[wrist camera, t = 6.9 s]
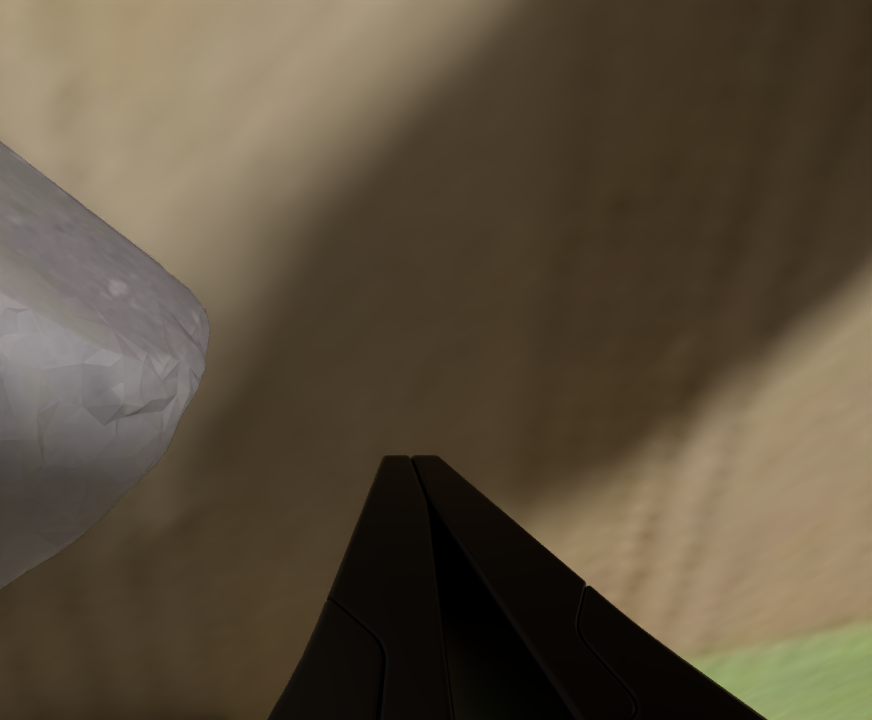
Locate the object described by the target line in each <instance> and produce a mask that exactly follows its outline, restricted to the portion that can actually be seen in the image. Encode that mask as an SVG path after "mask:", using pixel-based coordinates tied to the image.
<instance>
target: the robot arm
mask: <svg viewBox="0 0 872 720" xmlns="http://www.w3.org/2000/svg"><path fill="white" fill-rule="evenodd" d="M267 720H767V719H766V718H764V717H763V716H762V715H760V714H759V713H757V712H756V711H755V710H753V709H752V708H750V707H749V706H748V705H746V704H745V703H744V702H742V701H741V700H739V699H738V698H737V697H735V696H734V695H732V694H731V693H730V692H728V691H727V690H725V689H724V688H723V687H721V686H720V685H719V684H717V683H716V682H714V681H713V680H712V679H710V678H709V677H707V676H706V675H705V674H703V673H702V672H700V671H699V670H698V669H696V668H695V667H694V666H692V665H691V664H689V663H688V662H687V661H685V660H684V659H682V658H681V657H680V656H678V655H677V654H676V653H674V652H673V651H672V650H670V649H669V648H668V647H666V646H665V645H664V644H662V643H661V642H660V641H658V640H657V639H656V638H654V637H653V636H652V635H650V634H649V633H648V632H646V631H645V630H644V629H642V628H641V627H640V626H638V625H637V624H636V623H635V622H634V621H632V620H631V619H630V618H629V617H627V616H626V615H625V614H624V613H622V612H621V611H620V610H619V609H618V608H616V607H615V606H614V605H613V604H611V603H610V602H609V601H608V600H607V599H605V598H604V597H603V596H602V595H601V594H600V593H598V592H597V591H596V590H595V589H594V588H593V587H591V586H586V582H585V581H584V580H583V579H582V578H581V577H579V576H578V575H577V574H576V573H575V572H574V571H572V570H571V569H570V568H569V567H568V566H567V565H565V564H564V563H563V562H562V561H561V560H559V559H558V558H557V557H556V556H555V555H554V554H552V553H551V552H550V551H549V550H548V549H547V548H545V547H544V546H543V545H542V544H541V543H540V542H538V541H537V540H536V539H535V538H534V537H533V536H531V535H530V534H529V533H528V532H527V531H525V530H524V529H523V528H522V527H521V526H520V525H518V524H517V523H516V522H515V521H514V520H513V519H511V518H510V517H509V516H508V515H507V514H506V513H504V512H503V511H502V510H501V509H500V508H499V507H497V506H496V505H495V504H494V503H493V502H492V501H490V500H489V499H488V498H487V497H486V496H484V495H483V494H482V493H481V492H480V491H479V490H477V489H476V488H475V487H474V486H473V485H472V484H470V483H469V482H468V481H467V480H466V479H465V478H463V477H462V476H461V475H460V474H459V473H458V472H456V471H455V470H454V469H453V468H452V467H450V466H449V465H448V464H447V463H446V462H445V461H443V460H442V459H441V458H440V457H438V456H436V455H414V456H412V457H411V458H410V457H409V456H407V455H386V456H384V457H383V458H382V460H381V463H380V465H379V468H378V470H377V473H376V475H375V478H374V481H373V483H372V486H371V488H370V491H369V493H368V496H367V498H366V501H365V503H364V506H363V509H362V511H361V514H360V516H359V519H358V521H357V524H356V526H355V529H354V531H353V534H352V536H351V539H350V542H349V544H348V547H347V549H346V552H345V554H344V557H343V559H342V562H341V564H340V567H339V570H338V572H337V575H336V577H335V580H334V582H333V585H332V587H331V590H330V592H329V595H328V598H327V601H326V602H325V604H324V607H323V609H322V612H321V614H320V617H319V619H318V622H317V624H316V626H315V629H314V631H313V633H312V635H311V638H310V640H309V642H308V644H307V647H306V649H305V651H304V653H303V656H302V658H301V659H300V661H299V663H298V665H297V667H296V669H295V671H294V673H293V674H292V676H291V678H290V680H289V682H288V684H287V686H286V688H285V689H284V691H283V693H282V695H281V696H280V698H279V700H278V702H277V703H276V705H275V707H274V708H273V710H272V712H271V714H270V715H269V717H268V719H267Z"/></svg>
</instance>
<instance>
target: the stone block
mask: <svg viewBox="0 0 872 720" xmlns="http://www.w3.org/2000/svg"><path fill="white" fill-rule="evenodd" d="M209 333H210V327H209V322H208V318H207V314H206V310H205V309H204V308H203V306H202V305H201V304H200V302H199V301H198V300H197V298H196V297H195V296H194V294H193V293H192V292H191V291H190V290H189V289H188V288H187V287H186V286H185V285H184V284H182V283H181V282H180V281H179V280H178V279H177V278H175V277H174V276H173V275H172V274H170V273H169V272H168V271H167V270H166V269H164V268H163V267H162V266H161V265H160V264H159V263H158V262H156V261H155V260H154V259H153V258H152V257H150V256H149V255H148V254H147V253H145V252H144V251H143V250H141V249H140V248H139V247H137V246H136V245H135V244H133V243H132V242H131V241H130V240H128V239H127V238H126V237H124V236H123V235H122V234H120V233H119V232H118V231H116V230H115V229H114V228H113V227H111V226H110V225H109V224H107V223H106V222H105V221H103V220H102V219H101V218H100V217H98V216H97V215H96V214H94V213H93V212H91V211H90V210H89V209H87V208H86V207H85V206H83V205H82V204H81V203H80V202H79V201H77V200H76V199H75V198H74V197H72V196H71V195H70V194H68V193H67V192H66V191H64V190H63V189H62V188H60V187H59V186H58V185H57V184H55V183H54V182H53V181H51V180H50V179H49V178H47V177H46V176H45V175H44V174H42V173H41V172H40V171H38V170H37V169H36V168H34V167H33V166H32V165H31V164H29V163H28V162H27V161H25V160H24V159H23V158H22V157H20V156H19V155H18V154H16V153H15V152H14V151H13V150H11V149H10V148H9V147H7V146H6V145H5V144H3V143H2V142H1V141H0V589H1V588H3V587H4V586H6V585H8V584H9V583H11V582H12V581H14V580H15V579H17V578H18V577H20V576H21V575H23V574H24V573H26V572H28V571H29V570H31V569H33V568H34V567H36V566H38V565H39V564H41V563H42V562H44V561H46V560H47V559H49V558H51V557H52V556H54V555H56V554H57V553H59V552H60V551H62V550H63V549H64V548H66V547H67V546H69V545H70V544H71V543H73V542H74V541H75V540H77V539H78V538H79V537H81V536H82V535H83V534H84V533H85V532H86V531H87V530H88V529H90V528H91V527H92V526H93V525H94V524H95V523H96V522H98V521H99V520H100V519H101V518H102V517H103V516H104V515H106V514H107V513H108V512H109V511H110V510H111V509H112V508H113V507H114V506H115V504H116V503H117V502H118V501H119V500H120V499H121V498H122V496H123V495H124V494H125V493H126V492H127V491H128V490H129V489H130V488H131V487H132V486H133V485H135V484H136V483H137V482H138V481H139V480H140V479H141V478H142V477H143V476H144V475H145V474H147V472H148V471H149V470H150V469H151V468H152V467H153V466H154V465H155V464H156V463H157V462H158V461H159V460H160V459H161V458H162V456H163V455H164V453H165V452H166V450H167V449H168V447H169V445H170V442H171V440H172V437H173V435H174V433H175V430H176V428H177V425H178V423H179V421H180V418H181V417H182V415H183V413H184V412H185V410H186V408H187V407H188V405H189V403H190V402H191V400H192V398H193V397H194V395H195V393H196V391H197V389H198V387H199V384H200V382H201V379H202V376H203V373H204V370H205V367H206V350H207V344H208V339H209Z"/></svg>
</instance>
